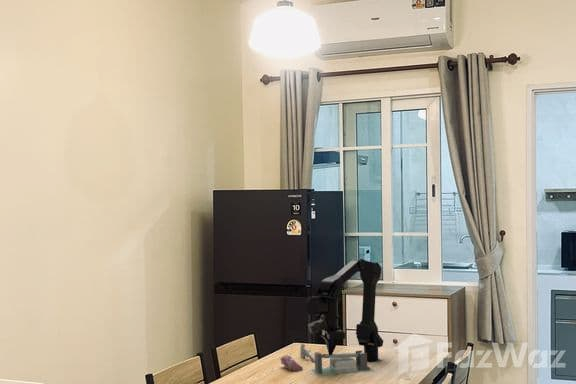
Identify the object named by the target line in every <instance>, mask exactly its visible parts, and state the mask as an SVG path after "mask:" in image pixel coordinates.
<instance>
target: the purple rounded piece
mask: <svg viewBox="0 0 576 384" xmlns="http://www.w3.org/2000/svg"><path fill="white" fill-rule="evenodd" d="M280 364H281V365H283V366H284V367H285V368H286V369H288V370H289V371H295V372H301V371H303V370H304V369H303V366H301V365H300V364H299V363H298V362H296V360H295V359H294V358H292V356H291V355H283V356H281V357H280Z"/></svg>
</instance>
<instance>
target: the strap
mask: <svg viewBox="0 0 576 384" xmlns="http://www.w3.org/2000/svg"><path fill="white" fill-rule="evenodd" d="M360 353H361V352H359V353H356V352H353V353H351V352H348V353H347V352H346V353H333V354H332V355H329V353H321V354H322V355H324V358H323V359H330V358H344V357H351V358H356V357H360Z"/></svg>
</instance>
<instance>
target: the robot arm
mask: <svg viewBox="0 0 576 384" xmlns="http://www.w3.org/2000/svg"><path fill="white" fill-rule="evenodd" d="M357 273H359V277H360V279H361V281H362V283H363V288H362V289H363V291H362V308H361V309H362V312H361V321H359V322H360V323H357V324H356V327H355V328H356V331H355V335H356V339H357V342H358V345H359V346H363V353H367V363H372V362H373V363H374V362H381V361H382V360H381V359H380V358H379V348H381V347H383V346H384V339H382V337H381V336H380V334H379V328H378V325H377V324H376V322H375V316H376V315H375V313H376V310H375V309H376V291H377V283H378V282H379V281H380V279H381V277H382V275H381V274H382V266H381V265H380V263H378V262H377V261H376V262H374V261H373V262H372V261H369V260H365V259H363V258H357V257H356V258H352V259H351V260H350V261H349V263H347V264H345V265H344V267H342V268H341V269H340V270H339V271H338V272H337V273H335V274H333V275H330V276H328V277H326V278H324V279H322V280H321V281H320V282H319V286H318V288H317V290H316V292H315V294H314V296H310V298H309V301H307V303H306V305H305V308H306V313H307V314H308V315H309V316H312V317H313V316H318V315H320V318H319V319H317V320H315V321H313V322H311V323H308V324H307V327H308V330H309V333H311V334H312V335H315V334H317V333H318V334H320V332H322V334H320V337H322V339H324V341H325V345H326V350H327V354H329V355H332V354H334V352H335V350H336V346H337V345H338V343H339V341H340V340H345V339H346V338H347V337H346V332H345V331H343V330H341V328H340V326H339V320H340V315H339V307H338V306H339V305H338V304H339V303H338V302H339V301H342V298H341V296H340V295H339V294H340V293H341V292H342V291H343V289H344V285H345V284H346V283H347V282H348V281H349V280H350V279H351V278H353V276H354V275H355V274H357Z"/></svg>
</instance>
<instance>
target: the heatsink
mask: <svg viewBox="0 0 576 384" xmlns="http://www.w3.org/2000/svg"><path fill="white" fill-rule="evenodd" d="M329 368H330V369H331V370H333V371H334V372H335V373H341V374H344V373H343V372H352V373H355V372H354V371H357V368H356V359H355V358H354V357H344V358H329Z"/></svg>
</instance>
